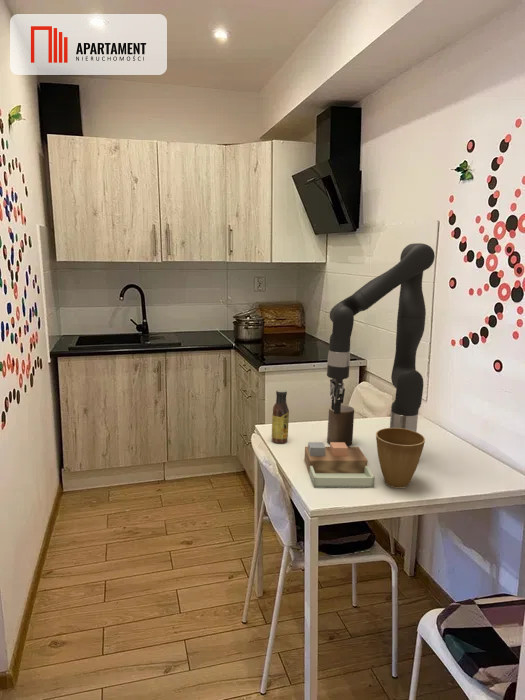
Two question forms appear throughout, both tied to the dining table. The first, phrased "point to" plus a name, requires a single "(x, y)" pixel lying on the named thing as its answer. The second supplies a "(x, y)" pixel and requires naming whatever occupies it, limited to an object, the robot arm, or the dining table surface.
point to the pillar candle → (341, 425)
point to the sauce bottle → (280, 418)
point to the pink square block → (338, 449)
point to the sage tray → (343, 479)
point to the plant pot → (399, 454)
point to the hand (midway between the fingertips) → (335, 411)
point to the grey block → (316, 449)
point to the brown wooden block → (337, 462)
